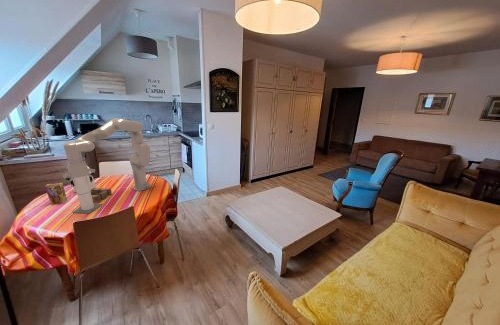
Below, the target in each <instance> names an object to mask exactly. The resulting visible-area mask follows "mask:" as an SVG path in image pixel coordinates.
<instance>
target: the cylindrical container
mask: <svg viewBox="0 0 500 325" xmlns="http://www.w3.org/2000/svg"><path fill="white" fill-rule="evenodd" d="M73 180H74V184H75V187H76V191H77V192H76V194H77V197H78V201H79V204H80V207H81V208H82V210H89V209H92V208H93V207H94V204H95V203H93V199H92V196H91V192H90V188H89V184H88V180H87V176H81V177H76V178H73Z"/></svg>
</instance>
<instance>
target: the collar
mask: <svg viewBox="0 0 500 325" xmlns="http://www.w3.org/2000/svg"><path fill="white" fill-rule="evenodd" d="M90 192H91V196H92V199H93V203H94V204H100V203H101V202H103V201H104V200H106V199H107V198H108V197H109V196H112V193H113V192H112V189H111V188H104V187H103V188H102V187H101V188H97V187H96V188H93V189H91V191H90Z"/></svg>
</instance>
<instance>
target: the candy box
mask: <svg viewBox="0 0 500 325" xmlns="http://www.w3.org/2000/svg"><path fill="white" fill-rule="evenodd" d="M44 188H45V191H46V193H47V196H48V200H49V202H50V205H57V204H65V203H67V202H68V197H67V195H66V191H65V187H64V183H63V182H56V183H47V184H46V185H44Z"/></svg>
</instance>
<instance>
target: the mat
mask: <svg viewBox="0 0 500 325" xmlns="http://www.w3.org/2000/svg"><path fill="white" fill-rule="evenodd" d="M101 206H103V204H102V203H94V207H93V208H92V209H89V210H82V208H81V206H80V207H78V208H77V209H75V210H73V211H72V214H87V215H88V214H91V213H93V212H94V211H96V210H97V209H98V208H100V207H101Z"/></svg>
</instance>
